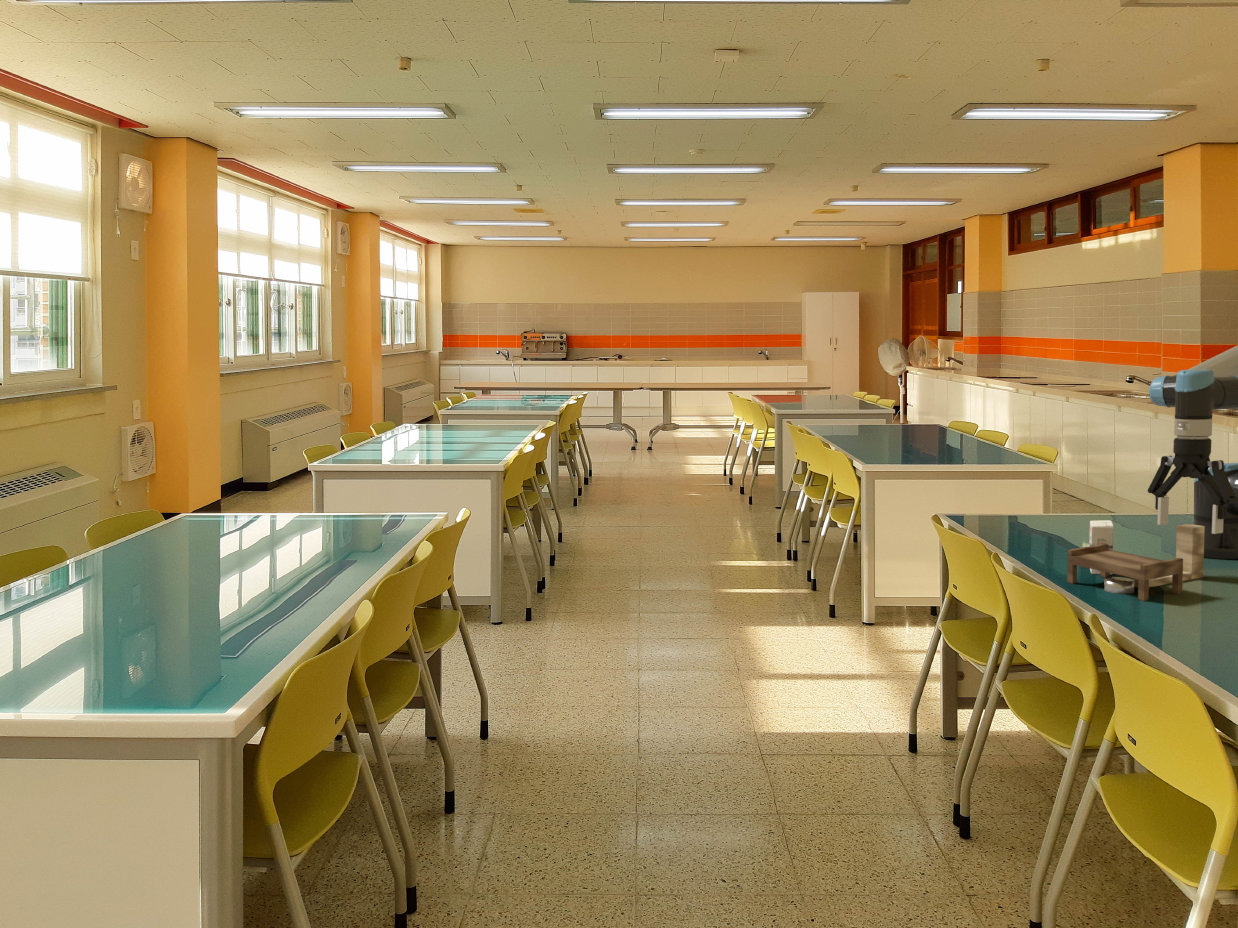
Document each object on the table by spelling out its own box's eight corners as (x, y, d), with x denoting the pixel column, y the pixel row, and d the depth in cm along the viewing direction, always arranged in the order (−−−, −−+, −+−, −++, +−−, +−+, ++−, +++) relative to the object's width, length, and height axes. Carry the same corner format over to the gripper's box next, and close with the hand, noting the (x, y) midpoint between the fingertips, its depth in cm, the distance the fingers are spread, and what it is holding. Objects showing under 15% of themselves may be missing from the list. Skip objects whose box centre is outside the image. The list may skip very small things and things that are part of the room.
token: (1117, 586, 225) (1117, 575, 225) (1140, 591, 220) (1140, 580, 220) (1098, 590, 223) (1098, 579, 223) (1121, 595, 218) (1121, 584, 217)
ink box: (1088, 566, 245) (1089, 519, 243) (1110, 567, 243) (1111, 519, 242) (1090, 574, 237) (1091, 525, 235) (1113, 575, 235) (1114, 526, 234)
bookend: (1187, 573, 233) (1188, 523, 232) (1203, 577, 230) (1204, 526, 228) (1127, 585, 225) (1128, 533, 224) (1142, 588, 222) (1143, 536, 220)
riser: (1104, 575, 235) (1104, 543, 234) (1182, 593, 217) (1183, 558, 216) (1067, 582, 230) (1067, 549, 229) (1143, 600, 212) (1144, 565, 211)
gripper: (1133, 434, 237) (1130, 522, 239) (1234, 442, 214) (1230, 538, 216) (1155, 432, 240) (1152, 519, 242) (1257, 439, 217) (1253, 535, 219)
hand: (1189, 528), depth 229 cm, fingers open, 13 cm apart
